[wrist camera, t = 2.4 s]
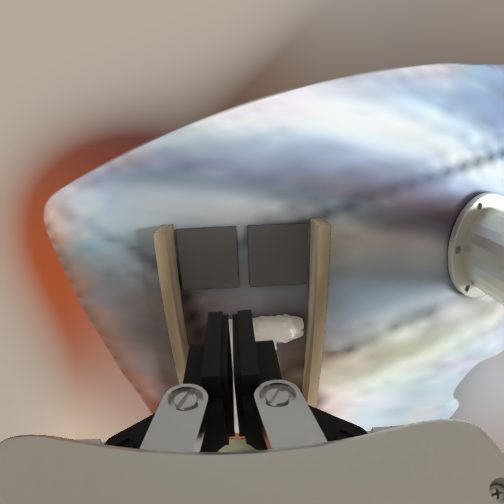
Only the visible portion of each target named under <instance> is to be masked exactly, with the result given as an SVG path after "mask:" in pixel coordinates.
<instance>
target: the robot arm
mask: <svg viewBox="0 0 504 504" xmlns="http://www.w3.org/2000/svg"><path fill="white" fill-rule="evenodd" d="M447 261H448V271H449V274H450V278H451V280H452V282H453V284H454V286H455V287H456V288H457V289H458V290H459V291H460V292H461V293H463V294H464V295H466V296H468V297H472V298H477V297H482V296H484V295H487V294H488V295H489V296H491V297H492V298H493V299H495V300H496V301H498V302H499V303H501V304H502V305H503V306H504V197H503V196H502V195H500V194H496V193H491V192H485V193H481V194H479V195H477V196H475V197H474V198H473V199H472V200H470V201H469V202H468V203H467V204H466V206H465V207H464V208H463V209H462V211H461V213H460V215H459V216H458V218H457V220H456V222H455V225H454V227H453V230H452V233H451V237H450V241H449V247H448V260H447ZM232 327H233V366H232V355H231V344H230V332H229V319H228V315H223V312H209V314H208V321H207V329H206V337H205V344H191V345H190V347H189V352H188V357H187V363H186V368H185V373H184V379H183V384H180V385H176V386H174V387H172V388H170V389H169V390H168V391H166V393H165V394H164V396H163V398H162V400H161V402H160V404H159V407H158V409H157V411H156V413H154V414H153V415H151V416H149V417H147V418H146V419H144V420H142V421H140V422H138V423H136V424H134V425H133V426H131V427H129V428H127V429H125V430H123V431H121V432H120V433H118V434H116V435H114V436H112V437H111V438H109V439H108V440H107V441H106V442H102V441H101V440H100V439H91V440H90V439H86V440H73V439H67V438H62V437H54V436H46V435H22V436H21V435H20V436H15V437H10V438H7V439H5V440H3V441H2V442H0V504H504V453H503V452H502V451H501V449H500V448H499V447H498V446H497V445H496V443H495V442H494V441H493V440H492V439H491V438H490V437H489V436H488V435H487V434H486V433H485V432H484V431H483V430H482V429H481V428H479V427H478V426H476V425H475V424H473V423H471V422H469V421H465V420H458V419H438V420H430V421H422V422H417V423H412V424H408V425H401V426H390V427H375V428H372V430H371V431H365V430H364V429H363V428H361V427H359V426H357V425H355V424H352V423H350V422H347V421H345V420H342V419H340V418H338V417H335V416H333V415H331V414H328V413H326V412H324V411H321V410H319V409H317V408H315V407H312V406H310V405H308V404H307V402H306V400H305V399H304V397H303V395H302V393H301V391H300V389H299V388H298V387H297V386H296V385H295V384H293V383H292V382H289V381H286V380H282V377H281V372H280V368H279V363H278V359H277V355H276V350H275V346H274V342H273V340H268V341H255V335H254V328H253V320H252V313H251V310H243V311H238V314H235V315H232ZM233 374H234V387H235V397H236V407H237V417H238V426H239V436H245V437H246V444H248V445H250V446H252V447H253V448H255V449H256V450H255V451H238V452H219V450H220V449H221V448H222V447H224V446H225V445H229V437H233V436H235V427H234V392H233Z"/></svg>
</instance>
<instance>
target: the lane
mask: <svg viewBox="0 0 504 504" xmlns="http://www.w3.org/2000/svg"><path fill="white" fill-rule="evenodd" d="M330 235H331V225H330V224H328V223H327V222H326V221H325V220H323V219H322V218H310V262H309V292H308V314H307V332H306V348H305V363H304V376H303V388H302V395H303V397H304V399H305V400H306V402H307V404H308V405H310V406H312V407H315V408H316V402H317V395H318V387H319V379H320V371H321V362H322V353H323V343H324V333H325V321H326V309H327V295H328V280H329V261H330ZM153 236H154V244H155V252H156V260H157V267H158V274H159V281H160V288H161V294H162V300H163V306H164V312H165V318H166V323H167V329H168V334H169V339H170V344H171V349H172V354H173V359H174V363H175V368H176V373H177V377H178V381H179V385H180V384H183V379H184V373H185V368H186V363H187V357H188V352H189V344H188V338H187V332H186V325H185V319H184V312H183V305H182V298H181V290H180V283H179V275H178V267H177V258H176V249H175V239H174V229H173V224H172V225H162V226H161V227H159V228H158V229H157V230H156V231H155V232H154V233H153ZM255 450H256V449H255V448H253V447H252V446H250V445H248V444H246V439H229V445H225V446H224V447H222V448H221V449H220V450H219V452H238V451H255Z"/></svg>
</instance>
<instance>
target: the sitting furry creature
mask: <svg viewBox="0 0 504 504" xmlns="http://www.w3.org/2000/svg"><path fill="white" fill-rule="evenodd" d="M252 320H253V328H254V335H255V341H268V340H273V342H274V346H275V350H277V346H276V345H277V342H283V343H287V342H289V341H290V340H293V339H296V338H299V337H301V336H303V333H304V331H303V328H304V323H303V319H302V318H300V317H297V316H289V315H287V314H286V313H285V314H284V315H283V316H282V315H277V316H260V317H256V318H253V317H252ZM229 332H230V344H231V355H232V366H233V327H232V319H229ZM233 392H234V427H235V432H236V433H239V426H238V417H237V407H236V397H235V387H234V374H233Z"/></svg>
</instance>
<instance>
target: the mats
mask: <svg viewBox="0 0 504 504" xmlns="http://www.w3.org/2000/svg"><path fill="white" fill-rule="evenodd" d="M176 234H177V244H178V253H179V262H180V271H181V279H182V287H183V289H211V288H236V287H239V276H238V257H237V237H236V226H228V227H208V228H189V229H177V230H176ZM307 236H308V224H307V223H304V224H275V225H250V226H248V249H249V274H250V287H257V286H276V285H294V284H306V281H307Z"/></svg>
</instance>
